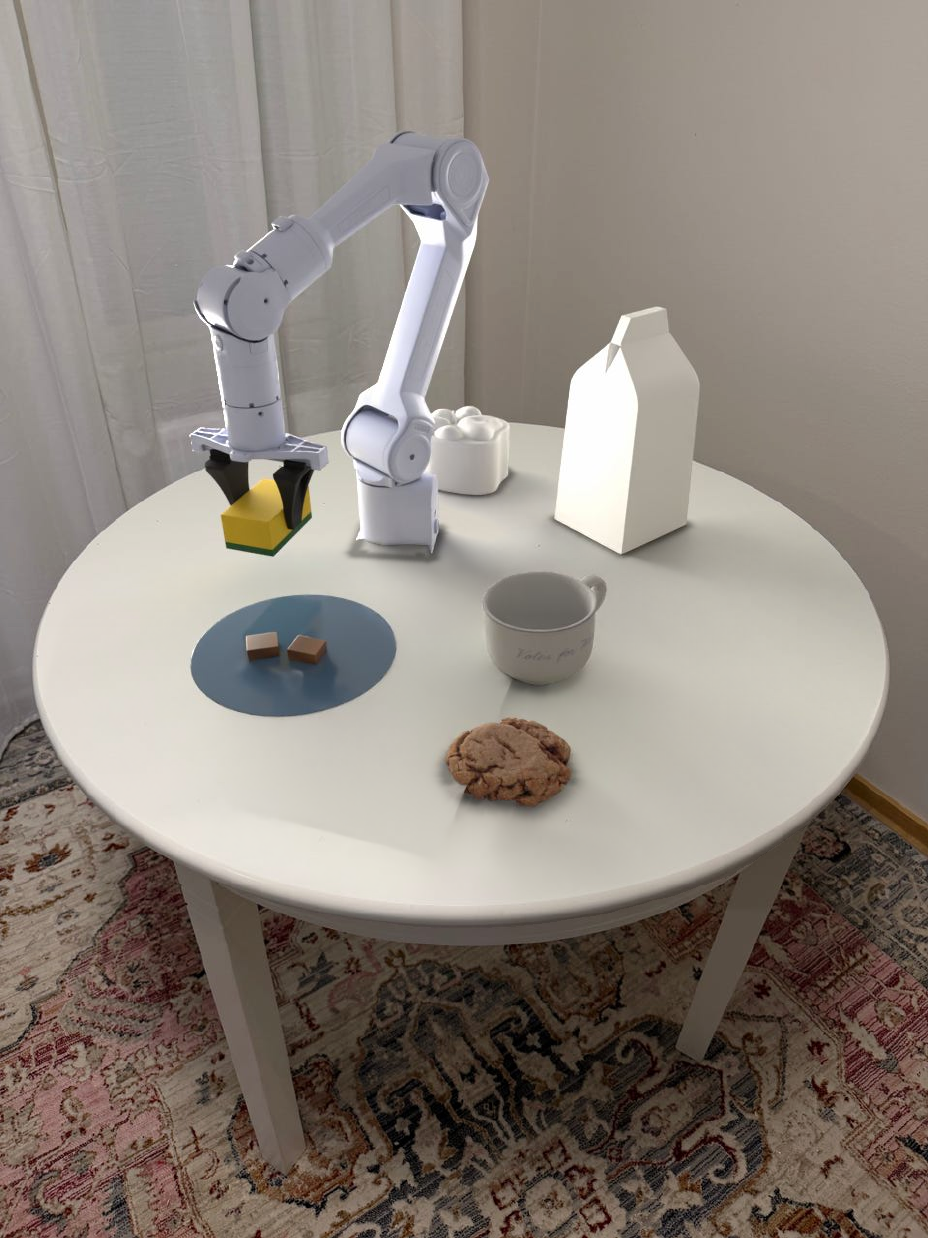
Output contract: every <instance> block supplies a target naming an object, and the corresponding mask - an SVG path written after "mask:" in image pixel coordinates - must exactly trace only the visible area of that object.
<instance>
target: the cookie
mask: <svg viewBox="0 0 928 1238" xmlns="http://www.w3.org/2000/svg"><path fill="white" fill-rule="evenodd" d="M571 752H572V748H571V745H570V744H569V743H568V742H567V741H566V740H565V739H564V738H562V737H561V736H560V735H558V734H557V733H555V732H553V731H552V730H550V729H549V730H548V727H547V726H545V725H543V724H541V723H539V722H537V721H536V720H527V719H524V718H517V717H513V718H511V717H505V718H502V719H501V722H490V723H485V724H482V725H479V726H477V727H475V728H473V729H471V730H466V731H463V732H462V733H460V735H458V736H457V737H456V738H455V739H454V740H453V742H452V743H451V744H450V745H449V748H448V750H447V753H446V757H445V764H446V765H447V766H448V767H447V769H448V771H449V772H450V775H451V776H452V778H453V779H454V781H455V782H457V783H458V784H459V785H461V786H462V785H464V786H466V787H465V789H464V791H463V793H464V794H465V795H470V796H474V799H477V800H483V799H484V798H486V797H487V799H488V801H490V802H491V801H497V800H499V801H513V802H514V803H516V804H518V805H519V806H523V807H536V806H537V805H539V804H541V803H543V802H546V801H547V800H548V799H550V798H552V797H554V796H556V795H557V794H559V793H560V792H562V790H563V789H564V788H565V787H564V785H567V783H568V781H570V780H571V777H572V771H571V768H570V766H568V763H569V760H570V758H571Z"/></svg>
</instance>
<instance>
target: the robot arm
mask: <svg viewBox="0 0 928 1238" xmlns="http://www.w3.org/2000/svg"><path fill="white" fill-rule="evenodd" d="M489 181H490V177H489V175H488V172H487V168H486V166H485V162H484V159H483V157H482V154H481V151H480V150H479V147H478V146H477V145H476V144H475V143H474V142H473V141H472V140H470V139H469V138H465V137H453V138H452V137H444V136H437V135H430V134H422V133H417V132H414V131H412V130H399V131H398V132H395V133H394V134H393V135H392V136H391V137H389V139H388V140H387V141H386V142H383V143H381V144H379V145H377V146H376V147H374V150H373V153H372V156H371V159H370V160H369V161H367V163H366V164H364V166H362V167H361V169H359V170H358V172H356V173H355V174H354V175H353V176H352V177H351V178H350V179H349V180H348V181H347V182H346V183H345V184H344V185H342V187H340V188H339V189H338V190H337V191H336V192H335V193H334V194H333V195H332V196H331V197H329V198H328V200H327V201H326V202H325V203H323V204H322V206H320V207H319V208H318V209H316V211H315V212H314V213H313V214H312V215H311V216H309V217H306V216H305V215H299V214H291V215H289V216H288V217H287V216H283V215H279V216H278V217H277V218H275V219H274V220H273V221H272V222H271V226H272V228H273V229H272V230H271V231H269V232H268V233H267V234H266V235H265V236H264V237H262V238H261V239H259V240H258V241H257V242H256V243H255V244H254V245H252V246H251V247H250V248H249V249H247V250H245V249H241V250H239V252H237V253H236V254H235V255H234V259H235V260H234V261H233V264H232V265H230V264H225V265H222V264H220V265H217V266H214V267H212V268H211V269H209V270H208V271H207V272H206V273H205V274H204V276H203V277H202V279H201V280H200V283H199V285H198V289H197V298H195V299H193V306H194V309H195V312H196V313H197V315H198V316H199V318H200V319H201V321H203V322H204V323H205V324H206V326H208V328H209V331H210V336H211V342H212V347H213V354H214V361H215V367H216V372H217V378H218V385H219V391H220V397H221V403H222V410H223V415H224V422H225V428H209V427H207V428H205V427H199V428H197V429H196V430H195V431H193V432H192V433H190V434H189V438H190V439H189V440H190V443H191V449H192V452H193V453H198V454H202V453H204V452H209V457H208V458H209V459H207V460H206V461H205V462H204V464H203V465H204V470H205V472H207V474H208V475H210V477H211V478H212V479H213V480H214V481H215V483H216V484H217V485H218V487H219V488H220V490H221V491H222V492H223V495H224V496H225V498H226V500H227V502H228V504H229V507H230V506H231V505H232V504H234V503H235V502H236V501H237V500H238V499H240V498H241V497H242V496H243V495H244V494H245V493H247V492H248V491H249V490H250V489H251V488H250V482H249V465H250V464H249V463H250V462H251V461H252V460H267V461H272V462H280V463H283V466H280V467H279V468H278V469H277V470H276V471H274V473H272V478H273V479H272V480H275V482H276V485H277V487H278V489H279V492H280V495H281V499H282V503H283V510H284V517H285V522H286V525H287V528H288V529H291V530H294V529H295V528H296V527H297V526H298V525H299V524H300V523H301V522H302V512H303V505H304V500H305V495H306V491H307V488H308V486H310V485H309V484H310V482H311V479H312V477H313V475H314V472H315V471H318V472H321V471H322V470H323V469H325V467H326V466H327V465H328V464H329V463H330V460H329V452H328V451H329V450H328V445H326V444H320V443H317V442H313V441H310V440H307V439H304V438H301V437H298V436H296V435H293V434H290V433H287V432H286V423H285V417H284V409H283V399H282V392H281V383H280V375H279V374H280V373H279V366H278V365H279V364H278V358H277V350H276V341H275V333H276V332H277V331H278V330H279V328H280V327H281V325H282V321H283V319H284V315H285V311H286V309H287V307H289V305H291V302H293V300H295V299H296V298H297V297H298V296H299V295H300V294H302V293H303V292H304V291H305V290H306V289H308V288H309V287H310V286H312V284H313V283H315V282H316V281H317V280H319V279H320V278H321V277H322V276H323V275H324V274H325V273H327V272H328V271H329V270H330V269H331V268H332V265H333V259H334V249H335V248H336V247H338V246H339V245H340V244H342V243H343V242H345V241H346V240H347V239H349V238H350V237H351V236H353V235H355V234H356V233H357V232H358V231H360V230H362V229H363V228H364V227H365V226H367V225H368V224H369V223H371V222H372V221H374V220H375V219H376V218H378V217H379V216H380V215H381V214H383V213H385V211H387V210H389V209H391V207H393V206H395V205H396V206H397V205H399V206H400V208H401V209H402V210H403V211H404V212H405V214H406V215H407V216H408V217H409V218H410V220H411V221H412V222H413V224H414V226H415V229H416V231H417V233H418V236H419V239H420V244H419V249H418V251H417V254H416V258H415V261H414V265H413V267H412V270H411V271H412V272H411V274H410V278H409V281H408V284H407V287H406V289H405V290H406V291H405V293H404V297H403V299H402V304H401V307H400V309H399V313H398V317H397V319H396V323H395V325H394V329H393V332H392V336H391V339H390V342H389V346H388V349H387V351H386V355H385V358H384V362H383V365H382V369H381V372H380V374H379V378H378V381H377V383H376V384H374V385H372V386H371V387H370V388H367V389H366V390H364V391H363V392H361V393H360V394H359V396H358V399H357V402H356V404H355V407H354V409H353V410H352V412H351V413H350V415H348V417H347V418H346V419H345V422H344V423H343V426H342V429H341V435H340V440H341V442H340V443H341V446H342V449H343V451H344V453H345V454H346V455H347V456H348V457H349V458H352V461H353V462H352V464H353V468H354V469H355V474H356V485H357V486H356V487H357V499H358V501H357V502H358V514H359V528H360V530H359V532H358V534H357V536H356V539H355V540H356V541H357V540H366V541H367V542H370V543H372V544H375V545H380V546H396V545H398V546H399V545H420V546H421V545H422V546H428V548H429V551H430V554H433V552H434V548H435V544H436V541H437V537H438V534H439V531H440V518H439V517H440V516H439V490H438V480H437V475H435V474H430V473H426V472H424V471H425V469H426V468H427V466H428V464H429V461H430V457H431V451H432V448H431V439H432V433H433V430H434V427H435V422H434V419H433V417H432V415H431V414H432V413H431V411H430V408H429V407H428V405H427V403H426V399H425V398H426V396H427V392H428V390H429V386H430V383H431V380H432V378H433V374H434V371H435V368H436V365H437V361H438V359H439V355H440V352H441V349H442V346H443V344H444V340H445V336H446V334H447V331H448V328H449V325H450V321H451V319H452V316H453V312H454V309H455V307H456V303H457V300H458V297H459V294H460V291H461V288H462V285H463V281H464V279H465V276H466V272H467V269H468V266H469V263H470V261H471V257H472V254H473V251H474V248H475V244H476V241H477V234H478V218H479V213H480V210H481V207H482V204H483V201H484V197H485V194H486V191H487V188H488V185H489ZM391 416H392V417H391ZM393 417H394V418H393Z"/></svg>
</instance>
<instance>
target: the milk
mask: <svg viewBox="0 0 928 1238" xmlns="http://www.w3.org/2000/svg"><path fill="white" fill-rule="evenodd" d="M700 387H701V383H700V380H699V377H698V374H697V372H696V370H695V368H694V367H693V364H692V363H691V362H690V361H689V359H688V357H687V356H686V355H685V353H684V352H683V350H682V348H681V347H680V346H679V344H678V343H677V341H676V340H675V338H674V337H673V335H672V334H671V332H670V326H669V319H668V310H667V308H665V307H661V306H657V305H656V306H653V307H648V308H645V309H642V310H638V311H633V312H630V313H626V314H622V315H620V318H619V321H618V323H617V326H616V328H615V331H614V333H613V335H612V338H611V340H610V342H609V343H607V345H606V346H604V347H603V348H602V349H601V350H600V351H599V352H597V353H596V354H595V355H594V356H593V357H591V358H590V359H588V360H587V361H586V362H585V363H584V364H583V365H581V366H580V367H579V368H578V369H577V370H576V371H575V372H574V374H573V376H572V378H571V381H570V386H569V392H568V393H569V394H568V401H567V409H566V417H565V426H564V436H563V444H562V451H561V460H560V469H559V477H558V485H557V492H556V499H555V500H556V502H555V509H554V517H553V519H554V520H556V521H557V522H559V523H561V524H562V525H565V526H567V527H569V528H571V529H572V530H574V531H576V532H578V533H580V534H582V535H583V536H586V537H587V538H589V539H591V540H593V541H595V542H597V543H599V544H601V545H602V546H604V547H606V548H608V549H610V550H611V551H614V552H615V553H617V554H619V555H623V554H626V553H628V552H630V551H632V550H635V549H637V548H639V547H640V546H643V545H645V544H648V543H649V542H651V541H654V540H656V539H659V538H661V537H663V536H664V535H667V534H670V533H672V532H673V531H675V530H678V529H680V528H682V527H684V526H687V523H688V514H689V504H690V503H689V502H690V493H691V482H692V474H693V473H692V472H693V464H694V463H693V462H694V454H695V441H696V432H697V422H698V421H697V420H698V411H699V402H700V391H701V389H700Z"/></svg>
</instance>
